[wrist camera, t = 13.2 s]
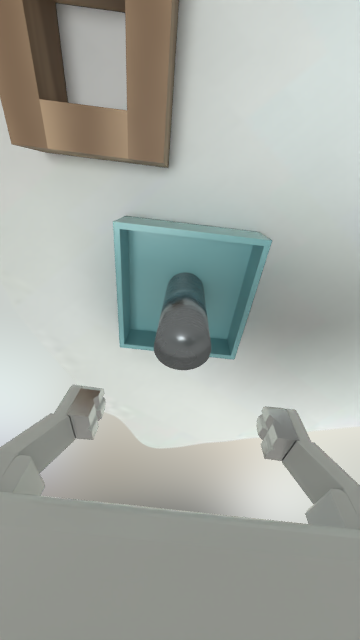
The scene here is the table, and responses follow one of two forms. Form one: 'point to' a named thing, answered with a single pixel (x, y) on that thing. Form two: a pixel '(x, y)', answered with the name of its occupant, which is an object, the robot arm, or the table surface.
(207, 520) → the robot arm
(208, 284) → the tray
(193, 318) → the pin
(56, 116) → the pin block
